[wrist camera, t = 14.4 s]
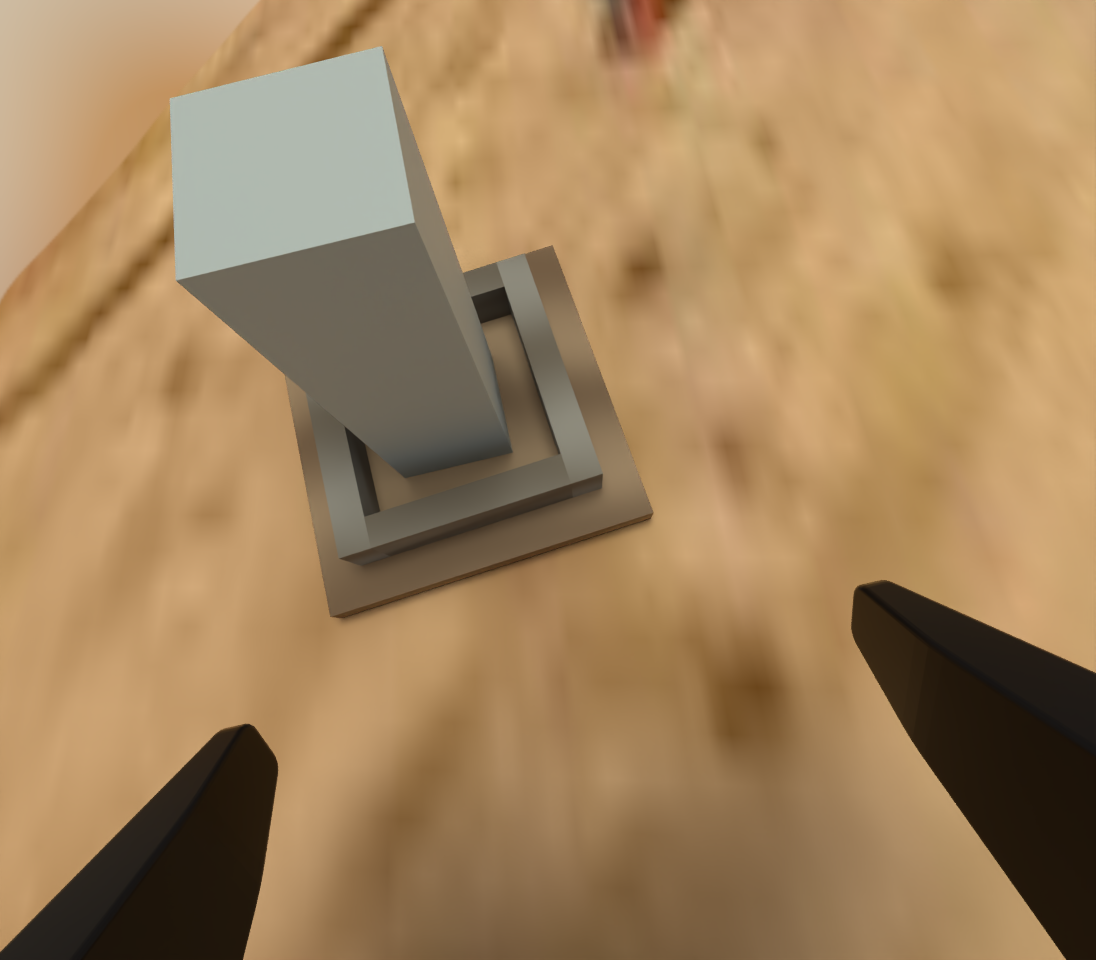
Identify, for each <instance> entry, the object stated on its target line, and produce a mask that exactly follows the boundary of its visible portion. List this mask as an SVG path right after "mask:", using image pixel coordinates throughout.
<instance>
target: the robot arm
mask: <svg viewBox="0 0 1096 960" xmlns="http://www.w3.org/2000/svg"><path fill="white" fill-rule="evenodd" d="M851 629H852V634H853V638H854V640H855V642H856V644H857V646H858V648H859V650H860V651H861V653H862V655H863V657H864V658H865V660H866V662H867V664H868V665H869V667H870V669H871V671H872V673H873V674H874V676H875V678H876V680H877V681H878V683H879V685H880V687H881V688H882V690H883V692H884V694H885V695H886V697H887V699H888V701H889V702H890V704H891V706H892V708H893V709H894V711H895V713H896V715H897V717H898V718H899V720H900V722H901V724H902V725H903V727H904V729H905V730H906V732H907V734H908V735H909V737H910V739H911V740H912V742H913V743H914V745H915V746H916V748H917V749H918V751H919V752H920V754H921V755H922V757H923V758H924V759H925V761H926V762H927V764H928V765H929V767H930V768H931V769H932V771H933V772H934V774H935V775H936V776H937V778H938V779H939V781H940V782H941V783H942V785H943V786H944V788H945V789H946V791H947V792H948V793H949V795H950V796H951V798H952V799H953V800H954V802H955V803H956V805H957V806H958V808H959V809H960V810H961V812H962V813H963V815H964V816H965V817H966V819H967V820H968V822H969V823H970V824H971V826H972V827H973V829H974V830H975V832H976V833H977V834H978V836H979V837H980V839H981V840H982V841H983V843H984V844H985V846H986V847H987V848H988V850H989V851H990V853H991V854H992V856H993V857H994V858H995V860H996V861H997V863H998V864H999V865H1000V867H1001V868H1002V870H1003V871H1004V872H1005V874H1006V875H1007V877H1008V878H1009V880H1010V881H1011V882H1012V884H1013V885H1014V887H1015V888H1016V889H1017V891H1018V892H1019V894H1020V895H1021V896H1022V898H1023V899H1024V901H1025V902H1026V904H1027V905H1028V906H1029V908H1030V909H1031V911H1032V912H1033V913H1034V915H1035V916H1036V918H1037V919H1038V920H1039V922H1040V923H1041V925H1042V926H1043V928H1044V929H1045V930H1046V932H1047V933H1048V935H1049V936H1050V937H1051V939H1052V940H1053V942H1054V943H1055V944H1056V946H1057V947H1058V949H1059V950H1060V952H1061V953H1062V954H1063V956H1064V957H1065V959H1066V960H1096V673H1095V672H1093V671H1090V670H1088V669H1086V668H1084V667H1081V666H1079V665H1077V664H1075V663H1072V662H1070V661H1068V660H1066V659H1063V658H1061V657H1059V656H1057V655H1054V654H1052V653H1050V652H1048V651H1045V650H1043V649H1041V648H1039V647H1036V646H1034V645H1032V644H1030V643H1027V642H1025V641H1023V640H1021V639H1018V638H1016V637H1014V636H1012V635H1010V634H1007V633H1005V632H1003V631H1001V630H998V629H996V628H994V627H992V626H989V625H987V624H985V623H983V622H980V621H978V620H976V619H974V618H971V617H969V616H967V615H965V614H962V613H960V612H958V611H956V610H953V609H951V608H949V607H947V606H944V605H942V604H940V603H938V602H935V601H933V600H931V599H929V598H926V597H924V596H922V595H920V594H917V593H915V592H913V591H911V590H908V589H906V588H904V587H902V586H899V585H897V584H895V583H893V582H890V581H886V580H880V581H875V582H871V583H866V584H862V585H859V586H857V587H856V589H855V591H854V596H853V609H852V622H851ZM277 777H278V763H277V760H276V757H275V755H274V753H273V752H272V750H271V749H270V748H269V746H268V745H267V743H266V742H265V741H264V739H263V738H262V736H261V735H260V733H259V732H258V731H257V729H256V728H255V727H254V726H252V725H250V724H242V725H238V726H234V727H229V728H225V729H223V730H220V731H219V732H218V733H216V734H215V735H214V736H213V737H212V738H211V739H210V740H209V741H208V742H207V743H206V744H205V745H204V746H203V747H202V748H201V749H200V750H199V751H198V752H197V754H196V755H195V756H194V757H193V758H192V759H191V760H190V761H189V762H188V763H187V764H186V765H185V766H184V767H183V768H182V769H181V770H180V771H179V772H178V773H177V774H176V775H175V776H174V777H173V778H172V779H171V780H170V781H169V782H168V783H167V784H166V785H165V786H164V787H163V788H162V789H161V790H160V791H159V792H158V793H157V794H156V795H155V796H154V797H153V798H152V799H151V800H150V801H149V802H148V803H147V804H146V805H145V806H144V807H143V808H142V809H141V810H140V811H139V812H138V813H137V814H136V815H135V816H134V817H133V818H132V819H131V820H130V821H129V822H128V823H127V824H126V825H125V826H124V827H123V828H122V829H121V830H120V831H119V832H118V833H117V834H116V835H115V837H114V838H113V839H112V840H111V841H110V842H109V843H108V844H107V845H106V846H105V847H104V848H103V849H102V850H101V851H100V852H99V853H98V854H97V855H96V856H95V857H94V858H93V859H92V860H91V861H90V862H89V863H88V864H87V865H86V866H85V867H84V868H83V869H82V870H81V871H80V872H79V873H78V874H77V875H76V876H75V877H74V878H73V879H72V880H71V881H70V882H69V883H68V884H67V885H66V886H65V887H64V888H63V889H62V890H61V891H60V892H59V893H58V894H57V895H56V896H55V897H54V898H53V899H52V900H51V901H50V902H49V903H48V904H47V905H46V906H45V907H44V908H43V909H42V910H41V911H40V912H39V913H38V914H37V915H36V916H35V917H34V918H33V919H32V920H31V921H30V922H29V923H28V925H27V926H26V927H25V928H24V929H23V930H22V931H21V932H20V933H19V934H18V935H17V936H16V937H15V938H14V939H13V940H12V941H11V942H10V943H9V944H8V945H7V946H6V947H5V948H4V949H3V950H2V951H1V952H0V960H243V957H244V953H245V949H246V945H247V941H248V937H249V933H250V929H251V925H252V921H253V916H254V912H255V908H256V904H257V900H258V895H259V891H260V886H261V881H262V875H263V870H264V864H265V857H266V851H267V844H268V837H269V831H270V824H271V817H272V811H273V804H274V797H275V790H276V784H277Z"/></svg>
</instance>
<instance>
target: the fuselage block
mask: <svg viewBox="0 0 1096 960" xmlns="http://www.w3.org/2000/svg"><path fill="white" fill-rule="evenodd" d="M170 117H171V148H172V178H173V209H174V239H175V270H176V281H177V282H178V283H179V284H180V285H182V286H183V287H184V288H185V289H186V290H187V291H189V292H190V293H191V294H192V295H193V296H194V297H196V298H197V299H198V300H199V301H200V302H201V303H203V304H204V305H205V306H206V307H207V308H208V309H209V310H211V311H212V312H213V313H214V314H215V315H216V316H218V317H219V318H220V319H221V320H222V321H223V322H225V323H226V324H227V325H228V326H229V327H230V328H232V329H233V330H234V331H235V332H236V333H237V334H238V335H240V336H241V337H242V338H243V339H244V340H245V341H247V342H248V343H249V344H250V345H251V346H252V347H254V348H255V349H256V350H257V351H258V352H259V353H261V354H262V355H263V356H264V357H265V358H266V359H267V360H269V361H270V362H271V363H272V364H273V365H274V366H276V367H277V368H278V369H279V370H280V371H281V372H283V373H284V374H285V375H286V376H287V377H288V378H290V379H291V380H292V381H293V382H294V383H295V384H296V385H298V386H299V387H300V388H301V389H302V390H303V391H305V392H306V393H307V394H308V395H309V396H310V397H312V398H313V399H314V400H315V401H316V402H317V403H319V404H320V405H321V406H322V407H323V408H324V409H325V410H327V411H328V412H329V413H330V414H331V415H332V416H334V417H335V418H336V419H337V420H338V421H339V422H341V423H342V424H343V425H344V426H345V427H346V428H348V429H349V430H350V431H351V432H352V433H353V434H354V435H356V436H357V437H358V438H359V439H360V440H361V441H363V442H364V443H365V444H366V445H367V446H368V447H370V448H371V449H372V450H373V451H374V452H375V453H377V454H378V455H379V456H380V457H381V458H382V459H383V460H385V461H386V462H387V463H388V464H389V465H390V466H392V467H393V468H394V469H395V470H396V471H397V472H399V473H400V474H401V475H402V476H403V477H404V478H408V477H412V476H416V475H421V474H425V473H429V472H433V471H437V470H442V469H446V468H450V467H454V466H458V465H463V464H467V463H471V462H475V461H480V460H484V459H488V458H492V457H496V456H501V455H505V454H509V453H513V451H512V446H511V441H510V437H509V432H508V428H507V423H506V418H505V414H504V409H503V404H502V400H501V395H500V391H499V386H498V381H497V377H496V372H495V368H494V363H493V358H492V355H491V352H490V349H489V346H488V343H487V341H486V338H485V335H484V332H483V329H482V326H481V324H480V321H479V318H478V315H477V312H476V310H475V307H474V304H473V301H472V298H471V295H470V293H469V290H468V287H467V284H466V281H465V279H464V276H463V273H462V270H461V267H460V264H459V262H458V259H457V256H456V253H455V250H454V248H453V245H452V242H451V239H450V236H449V233H448V231H447V228H446V225H445V222H444V219H443V217H442V214H441V211H440V208H439V205H438V203H437V200H436V197H435V194H434V191H433V188H432V186H431V183H430V180H429V177H428V174H427V172H426V169H425V166H424V163H423V160H422V157H421V155H420V152H419V149H418V146H417V143H416V141H415V138H414V135H413V132H412V129H411V126H410V124H409V121H408V118H407V115H406V112H405V110H404V107H403V104H402V101H401V98H400V95H399V93H398V90H397V87H396V84H395V81H394V79H393V76H392V73H391V70H390V67H389V65H388V62H387V59H386V56H385V53H384V50H383V48H382V46H380V47H376V48H372V49H368V50H364V51H360V52H356V53H352V54H348V55H344V56H340V57H336V58H332V59H328V60H324V61H320V62H316V63H312V64H308V65H304V66H300V67H296V68H291V69H287V70H283V71H279V72H275V73H271V74H267V75H263V76H259V77H255V78H251V79H247V80H243V81H239V82H235V83H231V84H227V85H223V86H219V87H215V88H211V89H207V90H202V91H198V92H194V93H190V94H186V95H182V96H178V97H174V98H170Z"/></svg>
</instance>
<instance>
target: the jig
mask: <svg viewBox="0 0 1096 960" xmlns="http://www.w3.org/2000/svg"><path fill="white" fill-rule="evenodd" d="M463 276H464V279H465V281H466V284H467V287H468V290H469V293H470V295H471V298H472V301H473V304H474V307H475V310H476V312H477V315H478V318H479V321H480V324H481V326H482V329H483V332H484V335H485V338H486V341H487V343H488V346H489V349H490V352H491V355H492V358H493V363H494V368H495V372H496V377H497V381H498V386H499V391H500V395H501V400H502V404H503V409H504V414H505V418H506V423H507V428H508V432H509V437H510V441H511V446H512V451H513V453H509V454H505V455H501V456H496V457H492V458H488V459H484V460H480V461H475V462H471V463H467V464H463V465H458V466H454V467H450V468H446V469H442V470H437V471H433V472H429V473H425V474H421V475H416V476H412V477H408V478H404V477H403V476H402V475H401V474H400V473H399V472H397V471H396V470H395V469H394V468H393V467H392V466H390V465H389V464H388V463H387V462H386V461H385V460H383V459H382V458H381V457H380V456H379V455H378V454H377V453H375V452H374V451H373V450H372V449H371V448H370V447H368V446H367V445H366V444H365V443H364V442H363V441H361V440H360V439H359V438H358V437H357V436H356V435H354V434H353V433H352V432H351V431H350V430H349V429H348V428H346V427H345V426H344V425H343V424H342V423H341V422H339V421H338V420H337V419H336V418H335V417H334V416H332V415H331V414H330V413H329V412H328V411H327V410H325V409H324V408H323V407H322V406H321V405H320V404H319V403H317V402H316V401H315V400H314V399H313V398H312V397H310V396H309V395H308V394H307V393H306V392H305V391H303V390H302V389H301V388H300V387H299V386H298V385H296V384H295V383H294V382H293V381H292V380H291V379H290V378H288V377H287V376H286V375H285V379H286V384H287V390H288V395H289V400H290V406H291V411H292V416H293V421H294V427H295V432H296V437H297V443H298V448H299V453H300V459H301V464H302V469H303V474H304V480H305V485H306V490H307V496H308V501H309V506H310V511H311V517H312V522H313V527H314V533H315V538H316V543H317V548H318V554H319V559H320V564H321V570H322V575H323V580H324V586H325V591H326V596H327V601H328V607H329V612H330V617H337V618H343V617H346V616H349V615H352V614H355V613H359V612H362V611H365V610H368V609H371V608H374V607H377V606H380V605H383V604H386V603H390V602H393V601H396V600H399V599H402V598H405V597H408V596H411V595H414V594H417V593H420V592H424V591H427V590H430V589H433V588H436V587H439V586H442V585H445V584H448V583H451V582H455V581H458V580H461V579H464V578H467V577H470V576H473V575H476V574H479V573H482V572H485V571H489V570H492V569H495V568H498V567H501V566H504V565H507V564H510V563H513V562H516V561H519V560H523V559H526V558H529V557H532V556H535V555H538V554H541V553H544V552H547V551H550V550H554V549H557V548H560V547H563V546H566V545H569V544H572V543H575V542H578V541H581V540H584V539H588V538H591V537H594V536H597V535H600V534H603V533H606V532H609V531H612V530H615V529H619V528H622V527H625V526H628V525H631V524H634V523H637V522H640V521H643V520H646V519H649V518H651V517H652V515H653V510H652V508H651V505H650V502H649V500H648V497H647V494H646V492H645V489H644V486H643V484H642V481H641V478H640V476H639V473H638V471H637V468H636V465H635V463H634V460H633V457H632V455H631V452H630V449H629V447H628V444H627V441H626V439H625V436H624V433H623V431H622V428H621V425H620V423H619V420H618V418H617V415H616V412H615V410H614V407H613V404H612V402H611V399H610V396H609V394H608V391H607V388H606V386H605V383H604V380H603V378H602V375H601V372H600V370H599V367H598V365H597V362H596V359H595V357H594V354H593V351H592V349H591V346H590V343H589V341H588V338H587V335H586V333H585V330H584V327H583V325H582V322H581V320H580V317H579V314H578V312H577V309H576V306H575V304H574V301H573V298H572V296H571V293H570V290H569V288H568V285H567V282H566V280H565V277H564V274H563V272H562V269H561V267H560V264H559V261H558V259H557V256H556V253H555V251H554V248H553V245H552V246H549V247H545V248H542V249H539V250H536V251H533V252H530V253H527V254H521V255H518V256H515V257H512V258H509V259H506V260H502V261H499V262H496V263H493V264H490V265H487V266H483V267H480V268H477V269H474V270H471V271H468V272H465V273H463Z"/></svg>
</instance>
